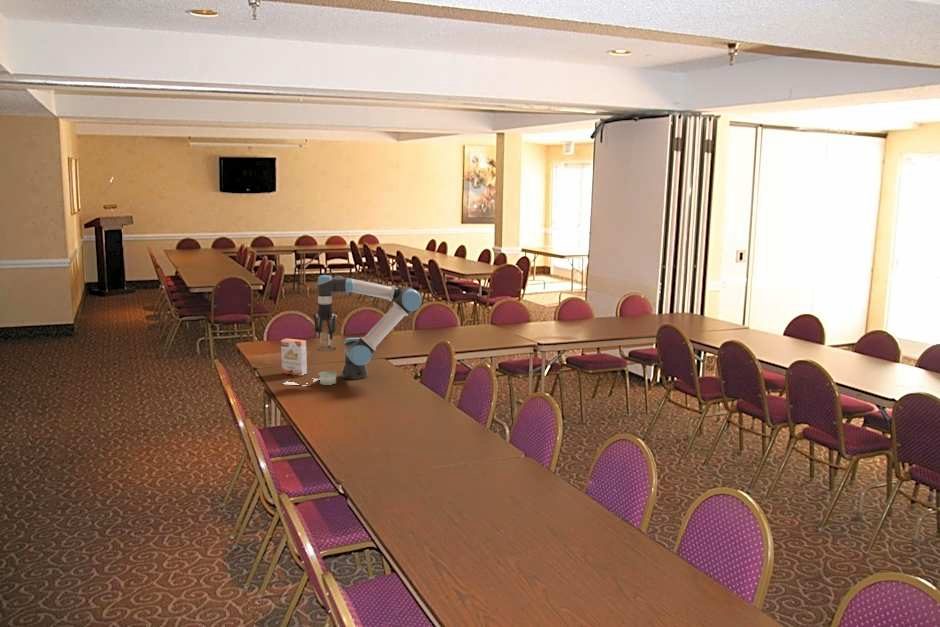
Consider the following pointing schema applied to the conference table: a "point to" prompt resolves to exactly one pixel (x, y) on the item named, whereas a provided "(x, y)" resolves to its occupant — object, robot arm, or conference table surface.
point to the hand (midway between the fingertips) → (325, 344)
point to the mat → (298, 384)
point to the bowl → (327, 377)
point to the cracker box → (294, 356)
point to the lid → (325, 342)
